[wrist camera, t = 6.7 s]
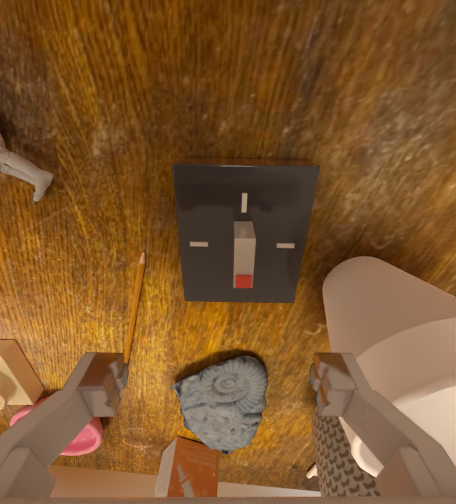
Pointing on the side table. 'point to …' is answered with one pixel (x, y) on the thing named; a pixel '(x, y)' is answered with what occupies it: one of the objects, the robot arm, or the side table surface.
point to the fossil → (224, 402)
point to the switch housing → (242, 209)
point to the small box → (188, 470)
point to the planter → (338, 461)
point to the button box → (17, 377)
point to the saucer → (82, 442)
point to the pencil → (134, 306)
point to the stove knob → (243, 254)
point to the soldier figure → (24, 170)
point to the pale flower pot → (396, 345)
